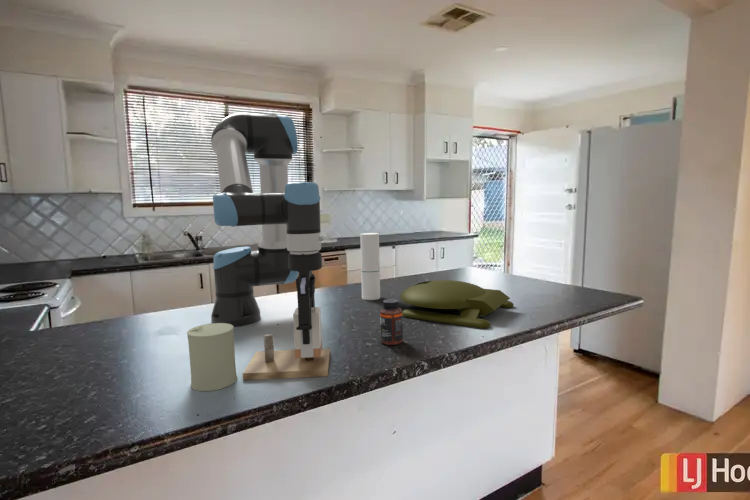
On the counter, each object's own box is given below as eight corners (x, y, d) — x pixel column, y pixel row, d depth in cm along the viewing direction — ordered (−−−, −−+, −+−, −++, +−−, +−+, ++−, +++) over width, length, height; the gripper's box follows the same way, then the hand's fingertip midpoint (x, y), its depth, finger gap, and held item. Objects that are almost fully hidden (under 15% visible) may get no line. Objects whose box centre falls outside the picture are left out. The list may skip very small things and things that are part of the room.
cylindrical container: (381, 295, 164) (379, 232, 161) (379, 300, 157) (378, 234, 154) (363, 295, 164) (361, 233, 162) (360, 300, 157) (359, 234, 154)
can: (199, 373, 92) (195, 321, 91) (241, 371, 93) (238, 319, 92) (184, 392, 83) (179, 335, 82) (230, 390, 84) (227, 332, 83)
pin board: (243, 380, 88) (240, 346, 88) (256, 357, 101) (254, 327, 100) (327, 376, 89) (326, 342, 89) (330, 354, 102) (329, 324, 101)
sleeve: (295, 358, 92) (293, 314, 91) (298, 349, 98) (296, 307, 97) (320, 356, 93) (318, 313, 92) (322, 348, 98) (320, 307, 97)
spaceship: (515, 307, 144) (515, 279, 143) (487, 331, 118) (487, 298, 117) (424, 296, 163) (424, 272, 162) (383, 315, 137) (382, 286, 136)
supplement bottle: (405, 339, 112) (405, 298, 111) (399, 346, 106) (399, 303, 105) (384, 337, 114) (383, 297, 113) (377, 344, 108) (376, 302, 107)
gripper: (318, 257, 84) (322, 367, 86) (324, 246, 102) (327, 337, 105) (280, 258, 83) (286, 368, 86) (293, 247, 102) (297, 338, 104)
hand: (308, 351), depth 95 cm, fingers closed on sleeve, 6 cm apart
